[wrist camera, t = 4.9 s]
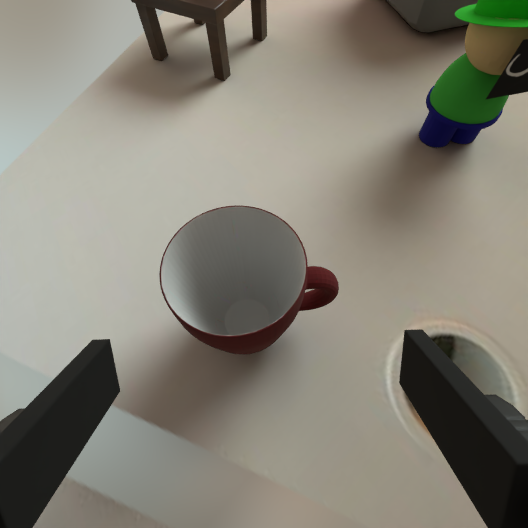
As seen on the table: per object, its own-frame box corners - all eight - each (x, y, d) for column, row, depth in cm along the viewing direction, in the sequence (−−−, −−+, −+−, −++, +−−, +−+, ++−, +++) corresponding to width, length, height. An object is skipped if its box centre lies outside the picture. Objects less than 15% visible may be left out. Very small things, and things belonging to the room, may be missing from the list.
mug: (308, 260, 29) (323, 184, 20) (340, 349, 25) (376, 303, 16) (191, 288, 28) (152, 221, 19) (206, 385, 24) (166, 357, 15)
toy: (428, 170, 33) (530, -5, 20) (393, 116, 37) (459, -61, 24) (506, 154, 34) (656, -26, 21) (464, 102, 38) (567, -77, 25)
